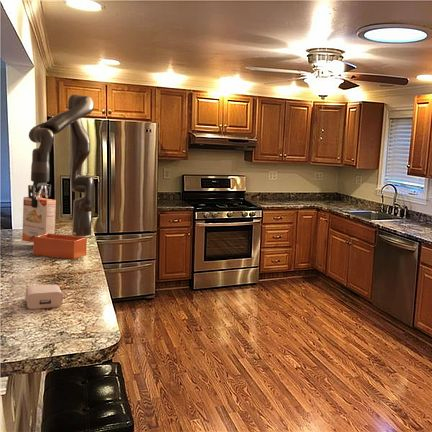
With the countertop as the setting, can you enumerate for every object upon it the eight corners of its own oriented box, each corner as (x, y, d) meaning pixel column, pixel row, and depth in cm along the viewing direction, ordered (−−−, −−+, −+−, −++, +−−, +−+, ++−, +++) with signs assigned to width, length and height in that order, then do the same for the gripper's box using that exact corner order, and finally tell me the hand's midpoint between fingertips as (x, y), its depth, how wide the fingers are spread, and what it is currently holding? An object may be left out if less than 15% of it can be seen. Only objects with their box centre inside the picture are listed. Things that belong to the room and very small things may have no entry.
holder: (47, 250, 213) (48, 233, 212) (86, 254, 212) (87, 237, 211) (33, 254, 203) (33, 236, 202) (73, 259, 201) (74, 241, 200)
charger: (55, 292, 154) (61, 306, 142) (24, 295, 149) (27, 309, 137) (56, 279, 154) (62, 291, 141) (24, 280, 148) (28, 293, 136)
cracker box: (21, 240, 217) (22, 196, 215) (32, 239, 223) (33, 196, 221) (44, 245, 213) (46, 199, 211) (54, 243, 219) (56, 199, 217)
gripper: (38, 172, 207) (37, 209, 209) (57, 171, 221) (55, 206, 223) (22, 170, 207) (21, 207, 209) (42, 170, 222) (40, 204, 224)
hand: (39, 206), depth 216 cm, fingers closed on cracker box, 6 cm apart
